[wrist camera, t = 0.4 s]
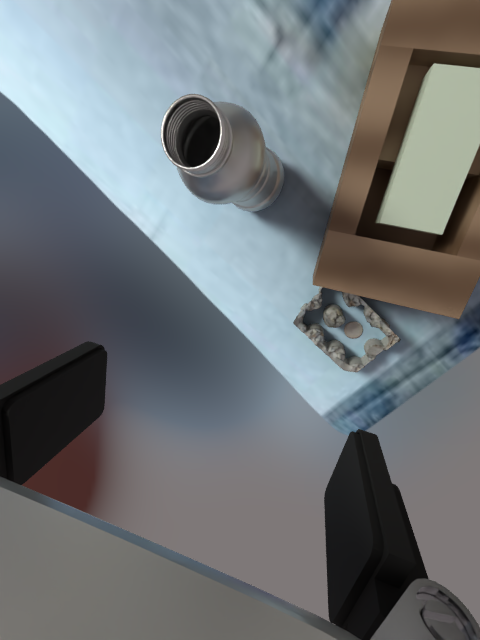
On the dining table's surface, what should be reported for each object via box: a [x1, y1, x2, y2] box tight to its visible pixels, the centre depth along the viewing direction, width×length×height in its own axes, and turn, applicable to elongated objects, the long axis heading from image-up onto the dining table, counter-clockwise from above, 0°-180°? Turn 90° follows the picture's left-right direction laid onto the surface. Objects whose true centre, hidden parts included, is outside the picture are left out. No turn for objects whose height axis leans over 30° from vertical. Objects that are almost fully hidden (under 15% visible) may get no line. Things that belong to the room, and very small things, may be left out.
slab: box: [375, 63, 480, 235], centre depth 25 cm, size 12×5×2 cm, turn 169°
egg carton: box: [293, 287, 400, 372], centre depth 35 cm, size 11×8×4 cm
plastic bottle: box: [161, 94, 284, 212], centre depth 25 cm, size 6×7×20 cm
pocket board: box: [313, 0, 480, 319], centre depth 28 cm, size 24×14×6 cm, turn 169°
